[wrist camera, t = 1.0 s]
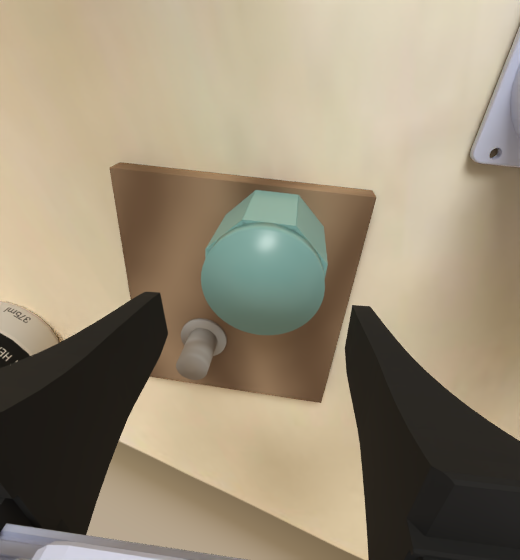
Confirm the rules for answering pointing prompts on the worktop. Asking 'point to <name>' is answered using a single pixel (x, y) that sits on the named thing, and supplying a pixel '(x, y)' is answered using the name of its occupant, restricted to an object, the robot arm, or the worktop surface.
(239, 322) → the cap
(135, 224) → the stud board
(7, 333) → the supplement can
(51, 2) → the worktop surface
